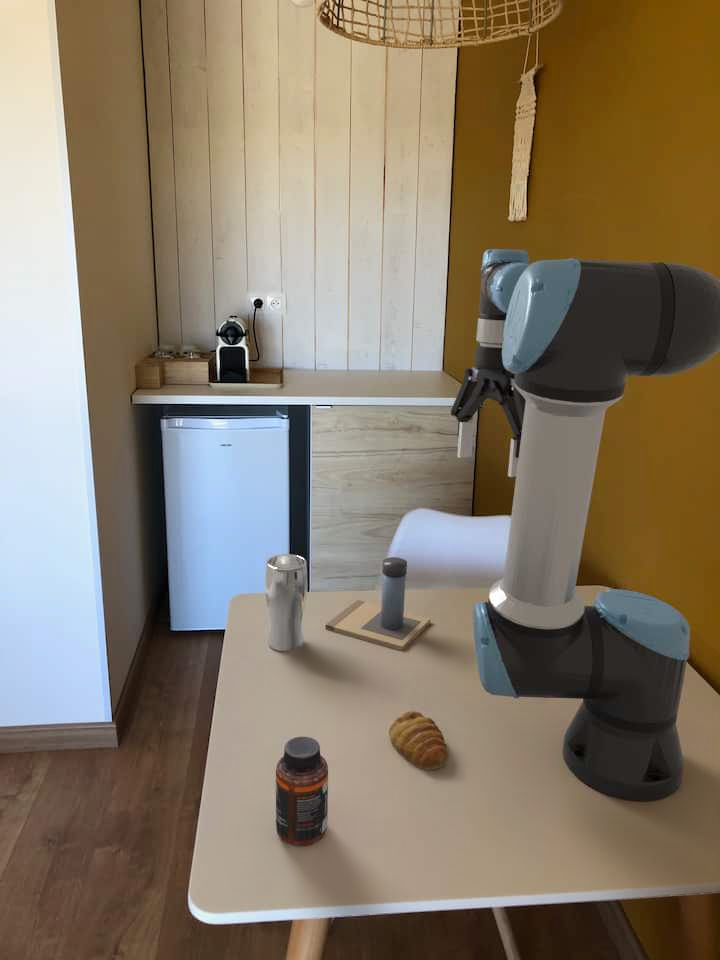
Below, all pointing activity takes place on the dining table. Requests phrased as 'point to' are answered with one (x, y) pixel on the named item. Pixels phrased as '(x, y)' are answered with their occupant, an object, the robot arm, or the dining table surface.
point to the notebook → (376, 625)
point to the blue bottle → (393, 593)
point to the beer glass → (286, 600)
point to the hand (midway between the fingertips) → (488, 466)
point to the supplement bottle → (301, 793)
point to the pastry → (419, 740)
